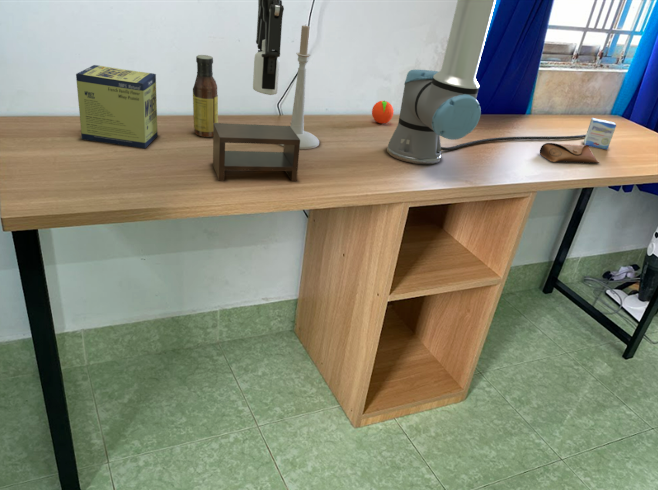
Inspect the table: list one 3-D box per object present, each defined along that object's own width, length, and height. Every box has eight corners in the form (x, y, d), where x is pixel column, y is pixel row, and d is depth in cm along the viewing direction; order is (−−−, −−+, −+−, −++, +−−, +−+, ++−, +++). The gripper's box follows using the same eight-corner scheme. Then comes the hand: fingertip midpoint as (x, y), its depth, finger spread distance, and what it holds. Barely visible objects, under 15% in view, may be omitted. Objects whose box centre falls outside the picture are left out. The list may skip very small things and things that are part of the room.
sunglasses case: (554, 162, 186) (553, 139, 186) (539, 166, 192) (539, 144, 192) (601, 163, 192) (601, 141, 192) (586, 167, 199) (585, 146, 198)
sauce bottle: (207, 129, 167) (208, 52, 157) (222, 136, 164) (224, 58, 154) (187, 132, 163) (187, 54, 152) (203, 139, 160) (203, 60, 149)
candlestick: (266, 143, 165) (273, 22, 149) (280, 130, 175) (288, 17, 160) (312, 152, 164) (325, 31, 148) (323, 139, 175) (335, 25, 159)
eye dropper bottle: (269, 88, 139) (273, 32, 133) (279, 95, 135) (283, 37, 129) (250, 88, 137) (253, 30, 131) (260, 95, 133) (263, 36, 127)
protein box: (146, 149, 148) (143, 83, 140) (80, 140, 147) (74, 73, 139) (159, 136, 157) (157, 73, 149) (97, 127, 156) (91, 63, 148)
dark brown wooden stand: (286, 165, 152) (290, 126, 147) (296, 181, 145) (300, 139, 139) (212, 164, 146) (213, 122, 141) (218, 180, 138) (219, 137, 133)
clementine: (392, 128, 194) (396, 105, 190) (370, 125, 193) (374, 102, 189) (390, 121, 200) (394, 99, 197) (369, 118, 200) (373, 96, 196)
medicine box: (584, 145, 210) (592, 120, 205) (583, 141, 213) (591, 117, 209) (607, 150, 209) (616, 125, 204) (606, 146, 212) (615, 121, 208)
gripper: (245, -41, 129) (241, 73, 141) (263, -31, 115) (256, 95, 127) (280, -37, 132) (273, 75, 144) (302, -26, 117) (291, 97, 129)
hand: (265, 84), depth 135 cm, fingers closed on eye dropper bottle, 5 cm apart
